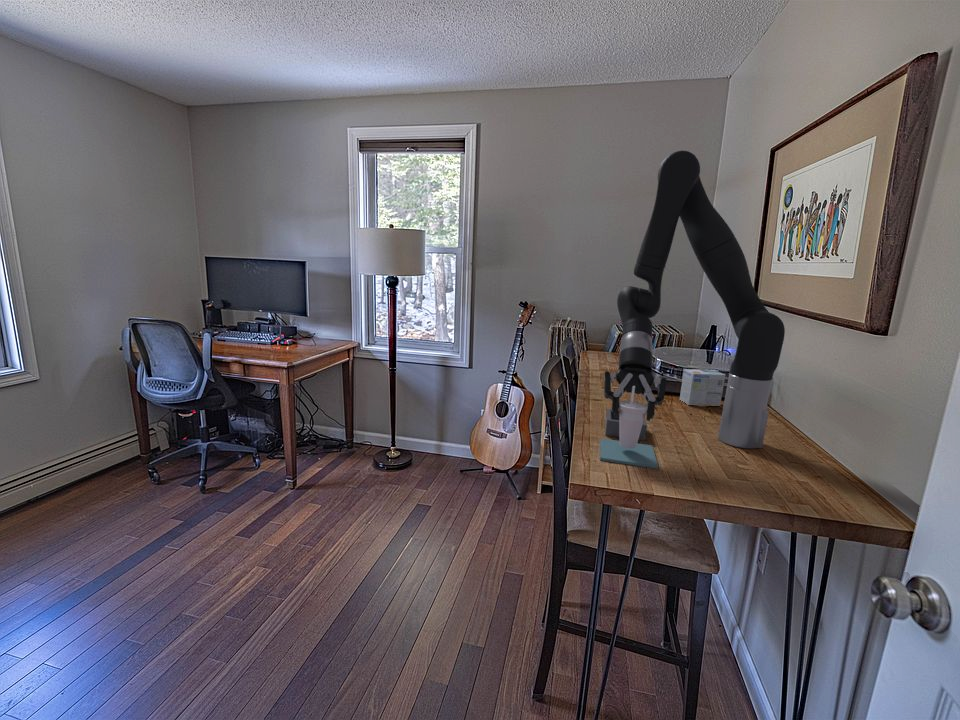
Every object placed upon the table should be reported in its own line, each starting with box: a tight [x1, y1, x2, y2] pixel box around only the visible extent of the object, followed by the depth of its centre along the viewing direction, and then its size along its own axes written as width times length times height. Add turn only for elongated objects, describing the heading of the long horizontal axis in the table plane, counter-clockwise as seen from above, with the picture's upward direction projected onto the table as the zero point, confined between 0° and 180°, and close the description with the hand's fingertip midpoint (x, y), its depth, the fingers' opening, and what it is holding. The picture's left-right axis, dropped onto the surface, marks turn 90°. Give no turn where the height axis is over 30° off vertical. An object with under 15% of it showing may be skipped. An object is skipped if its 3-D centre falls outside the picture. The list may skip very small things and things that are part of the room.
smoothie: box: [618, 386, 648, 448], centre depth 105 cm, size 6×6×14 cm
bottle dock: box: [604, 408, 648, 441], centre depth 120 cm, size 10×10×4 cm
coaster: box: [599, 437, 659, 470], centre depth 106 cm, size 12×12×1 cm
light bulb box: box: [679, 368, 726, 407], centre depth 149 cm, size 11×7×11 cm, turn 94°
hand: (632, 416), depth 103 cm, fingers closed on smoothie, 6 cm apart
